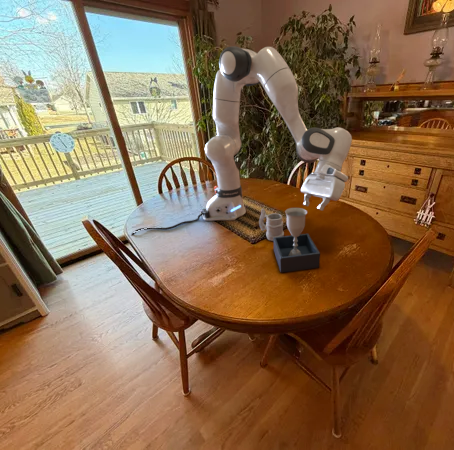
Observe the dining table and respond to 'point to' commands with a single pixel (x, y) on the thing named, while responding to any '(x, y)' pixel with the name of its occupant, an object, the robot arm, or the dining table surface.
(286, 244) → the bin
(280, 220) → the mug
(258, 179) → the dining table surface
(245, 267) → the dining table surface
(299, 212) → the chalice
